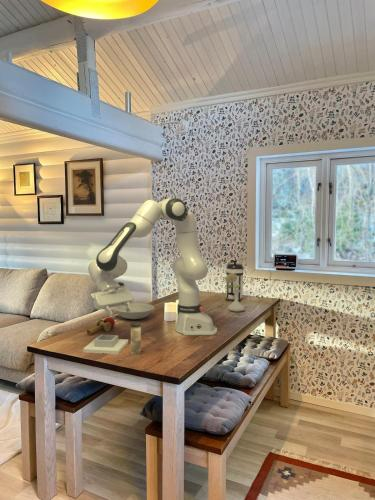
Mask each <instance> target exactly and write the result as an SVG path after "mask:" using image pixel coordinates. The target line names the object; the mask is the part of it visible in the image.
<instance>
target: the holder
mask: <svg viewBox="0 0 375 500" xmlns="http://www.w3.org/2000/svg"><path fill="white" fill-rule="evenodd" d="M128 344H129V339H123V338H119V335H117V334H115V335H113V334H100V335H99V336H97V337H95V338H94V339H93V340H91V342H90V343H88V344H87V345H86V346H84V348H83V349H82V353H86V354H87V353H88V354H89V353H90V354H102V353H104V355H105V353H106V355H119V354H120V353H121V352H122V351H123V350H124V348H125V347H126V346H127V345H128Z"/></svg>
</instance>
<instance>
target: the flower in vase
mask: <svg viewBox="0 0 375 500" xmlns="http://www.w3.org/2000/svg"><path fill="white" fill-rule="evenodd" d="M236 279H237V275H236V274H235V275H234V273H232V274H231V273H230V274H228V275H227V274H226V277H225V280H226V282H229V283H233V282H235V280H236ZM232 287H234V286H232V285H229V286H227V288H232ZM239 287H240V285H238V286H236V287H234V288H239ZM233 291H234V295H235V300H233V302H231V303H230V304H229V305H228V306H227V310H229V311H231V312H235V313H236V312H237V313H239V312H244V311H245V309H246V308H245V306H244V305H243V304H242V303H241V302H239V301H238V294H239V292H240V290H237V289H235V290H233Z"/></svg>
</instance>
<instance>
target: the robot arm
mask: <svg viewBox="0 0 375 500" xmlns="http://www.w3.org/2000/svg"><path fill="white" fill-rule="evenodd" d="M195 217H196V216H195V215H194V212H192V211H191V210H189V209H188V208H187V205H186V203H185V202H184V200H183V199H180V198H177V197H174V198H173V197H169V198H166V199H160V200H158V201H156V200H154V199H147V200H146V201H144V202H143V203H142V204H141V205H140V207H139V208H138V209H137V210H136V212H135V214H134V215H133V216H132V217H131V219H130V220H129V221H128V222H126V223H125V224H124V225H123V226H122V227H121V228H120V230H118V231H117V233H116V234H115V236H113V238H112V239H111V240H110V242H109V243H107V245H106V246H105V247H103V248H102V249H101V250H100V251H99V252H98V254H97V255H96V258H95V259H93V260H91V262H90V263H88V268H87V269H88V271H87V272H88V273H89V276H90V278H91V280H92V283H94V284H95V287H96V290H92V291H91V292H90V298H91V299H92V303H93V305H94V307H95V308H94V309H96V310H97V311H99V310H104V311H105V312H106V313H107V314H108V315H109V316H110V317H112V316H114V315H115V312H114V311H115V310H114V309H112V308H114V307H116V306H121V305H125V306H126V309H125V310H126V312H130V311H131V309H130V304H131V303H133V301H134V299H135V298H134V296H133V293H132V292H131V290H130V289H129V288H128V287H127V284H126V283H125V282H122V281H117V280H115V279H117V278H119V277H121V276H123V275H124V274H126V271H127V270H128V262H127V260H126V259H124V258H123V257H122V256H121V255H120V253H121V251H122V249H123V248H124V247H125V246H126V244H127V243H128V242H129V241H130V240H131V239H133V238H145V237H147V236H148V235H149V234H150V233H151V232H152V231H153V229H154V227H155V225H156V224H157V222H158V221H159V220H162V221H163V220H164V221H172V222H173V223H174V226H175V238H176V247H177V250H178V251H179V252H180V255H181V256H180V257H177V258H175V259H174V260H173V262H172V264H171V268H172V271H173V273H174V275H175V278H176V283H177V288H178V289H177V290H178V303H177V309H176V310H177V311H176V312H177V320H176V326H175V330H174V331H175V332H177V333H179V334H182V335H184V336H215V335H216V334H217V333H218V327H216V326H215V325H214V322H213V319H212V317H211V316H209V315H208V314H207V313H206V312H204V306H203V304H200V288H199V286H198V284H197V281H199V280H203V279H205V278H206V276H207V275H208V272H209V266H208V264H207V263H206V262H205V261H204V259H203V257H202V253H201V250H200V248H199V247H200V246H199V240H198V228H197V222H196V218H195ZM110 308H111V309H112V310H111V309H110Z"/></svg>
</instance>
